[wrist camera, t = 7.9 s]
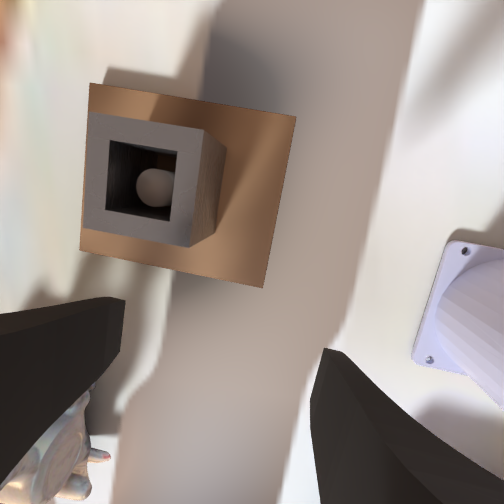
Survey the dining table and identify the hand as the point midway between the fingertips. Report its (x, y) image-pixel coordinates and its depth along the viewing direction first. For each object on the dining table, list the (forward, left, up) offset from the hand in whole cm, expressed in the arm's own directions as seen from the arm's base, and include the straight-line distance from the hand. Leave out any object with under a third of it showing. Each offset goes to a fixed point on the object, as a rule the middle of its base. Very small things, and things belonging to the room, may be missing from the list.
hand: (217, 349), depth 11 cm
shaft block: (+5, -5, -9) cm, 12 cm away
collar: (+5, -5, -8) cm, 11 cm away
